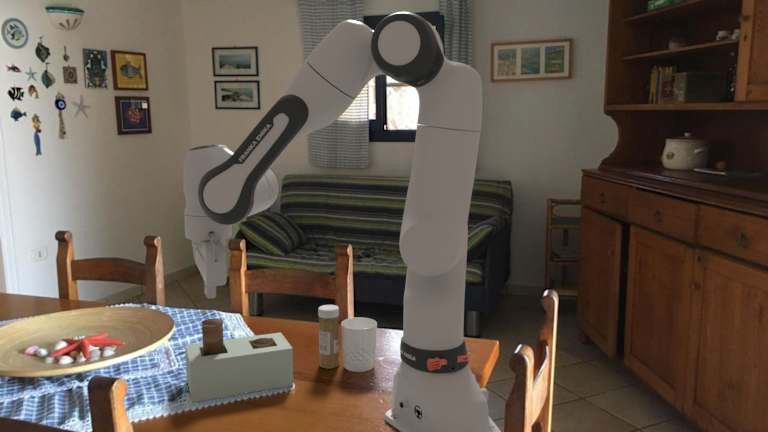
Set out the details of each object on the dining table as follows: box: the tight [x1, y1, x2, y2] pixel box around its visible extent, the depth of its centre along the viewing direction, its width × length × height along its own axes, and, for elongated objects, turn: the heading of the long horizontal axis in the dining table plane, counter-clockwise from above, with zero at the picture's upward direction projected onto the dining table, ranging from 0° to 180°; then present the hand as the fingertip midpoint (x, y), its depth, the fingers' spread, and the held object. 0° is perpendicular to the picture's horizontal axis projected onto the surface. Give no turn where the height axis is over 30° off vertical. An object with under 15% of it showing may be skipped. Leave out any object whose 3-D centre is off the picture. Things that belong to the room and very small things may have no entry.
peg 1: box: [201, 317, 224, 356], centre depth 122 cm, size 4×4×7 cm
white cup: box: [340, 316, 378, 373], centre depth 134 cm, size 8×8×10 cm
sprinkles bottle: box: [317, 304, 340, 369], centre depth 134 cm, size 5×5×14 cm
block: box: [184, 331, 294, 403], centre depth 125 cm, size 10×20×8 cm, turn 113°
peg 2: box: [253, 338, 273, 349], centre depth 127 cm, size 4×4×7 cm
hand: (210, 296), depth 120 cm, fingers closed
